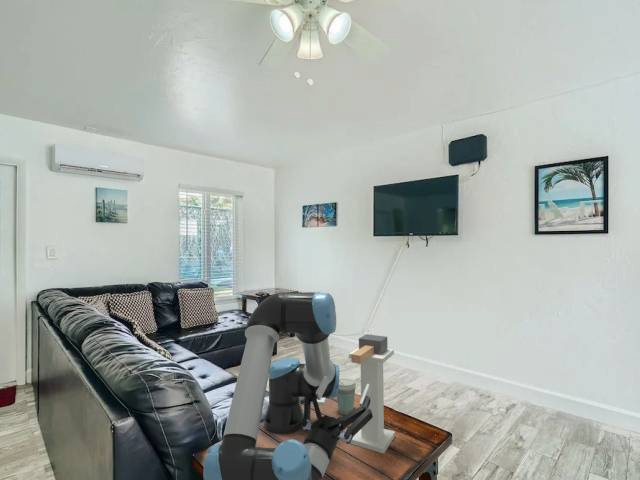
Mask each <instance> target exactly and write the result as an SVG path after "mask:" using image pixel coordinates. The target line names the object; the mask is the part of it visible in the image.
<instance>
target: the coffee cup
mask: <svg viewBox="0 0 640 480" xmlns="http://www.w3.org/2000/svg"><path fill="white" fill-rule="evenodd" d="M356 388H357V384H356V382H355V380H353V379H351V378H339V388H338V394H337V396H336V400H337V410H338V413H339V414H340V415H343V416H345V415H347V414H348V413H350V412H352V411H353V410H354V404H355V395H356Z"/></svg>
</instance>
